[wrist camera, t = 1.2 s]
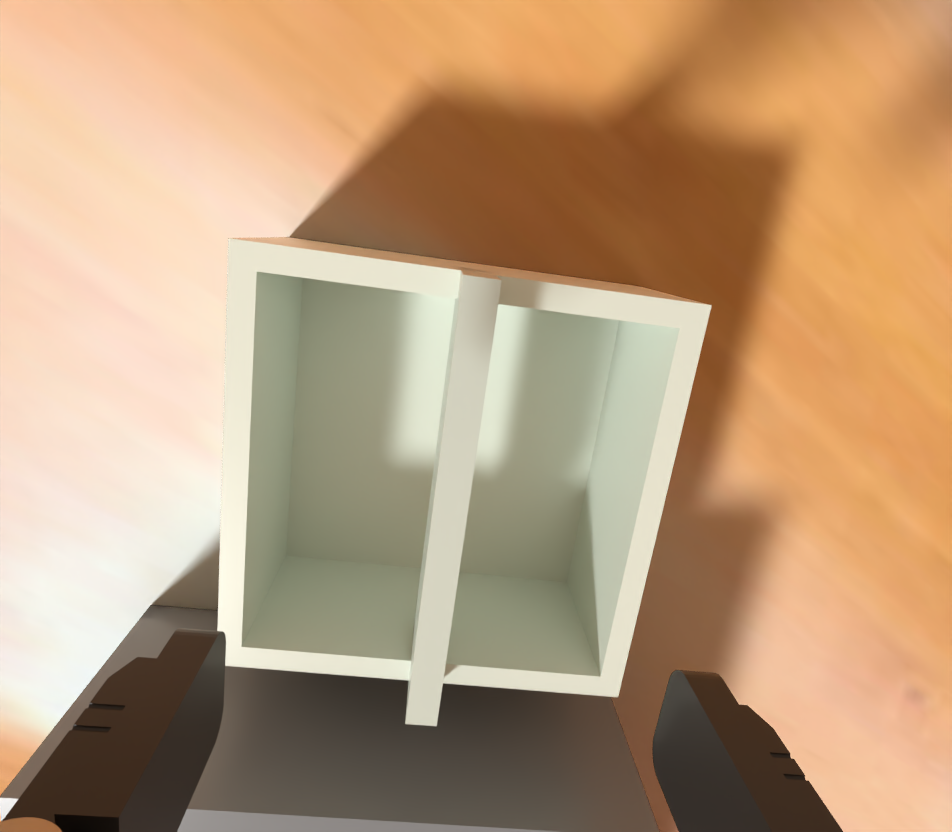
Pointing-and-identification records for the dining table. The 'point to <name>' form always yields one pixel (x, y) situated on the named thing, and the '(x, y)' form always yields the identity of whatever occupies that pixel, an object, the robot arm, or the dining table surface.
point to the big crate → (388, 754)
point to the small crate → (442, 467)
